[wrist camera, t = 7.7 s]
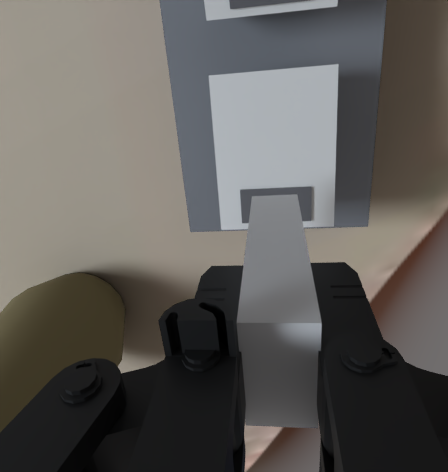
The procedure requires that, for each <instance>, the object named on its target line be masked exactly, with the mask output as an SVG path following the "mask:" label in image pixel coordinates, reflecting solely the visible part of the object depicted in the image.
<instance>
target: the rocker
mask: <svg viewBox="0 0 448 472" xmlns="http://www.w3.org/2000/svg"><path fill="white" fill-rule="evenodd" d="M209 87H210V99H211V111H212V123H213V136H214V148H215V160H216V172H217V184H218V196H219V208H220V220H221V230H239V229H248V225H249V217H250V209H251V200H252V196H270V195H293V194H297V195H298V201H299V206H300V211H301V216H302V222H303V227H334V206H335V171H336V135H337V100H338V64H333V65H322V66H311V67H299V68H288V69H277V70H266V71H254V72H243V73H232V74H221V75H209Z"/></svg>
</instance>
